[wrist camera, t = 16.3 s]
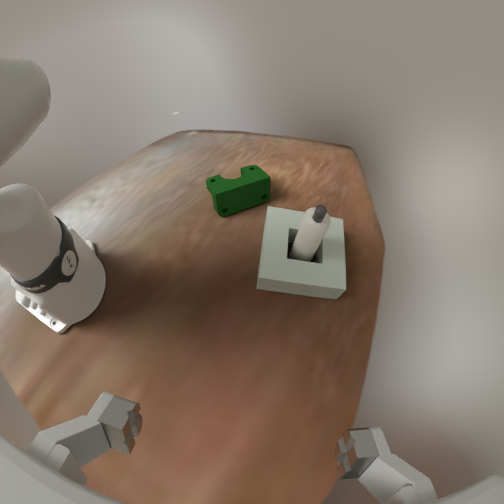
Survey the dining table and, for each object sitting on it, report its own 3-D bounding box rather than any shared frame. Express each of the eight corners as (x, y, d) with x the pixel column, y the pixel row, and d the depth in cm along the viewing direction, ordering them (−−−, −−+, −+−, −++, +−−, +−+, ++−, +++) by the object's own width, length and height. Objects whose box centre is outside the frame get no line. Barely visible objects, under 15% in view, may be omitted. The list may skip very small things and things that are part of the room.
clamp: (248, 201, 61) (262, 164, 55) (262, 216, 57) (277, 178, 52) (198, 200, 54) (209, 158, 49) (208, 216, 50) (222, 172, 45)
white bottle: (287, 266, 48) (307, 218, 36) (289, 247, 50) (307, 196, 38) (310, 269, 48) (335, 223, 36) (310, 250, 50) (334, 201, 38)
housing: (256, 288, 46) (258, 277, 42) (265, 221, 53) (267, 206, 49) (336, 299, 46) (346, 289, 42) (335, 232, 53) (342, 219, 49)
